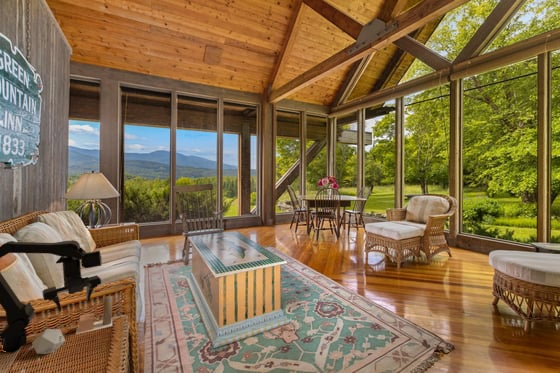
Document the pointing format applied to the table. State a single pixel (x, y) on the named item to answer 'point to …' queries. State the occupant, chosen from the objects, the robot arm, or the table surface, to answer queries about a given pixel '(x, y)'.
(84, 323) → the cube
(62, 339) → the die
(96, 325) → the peg stand
